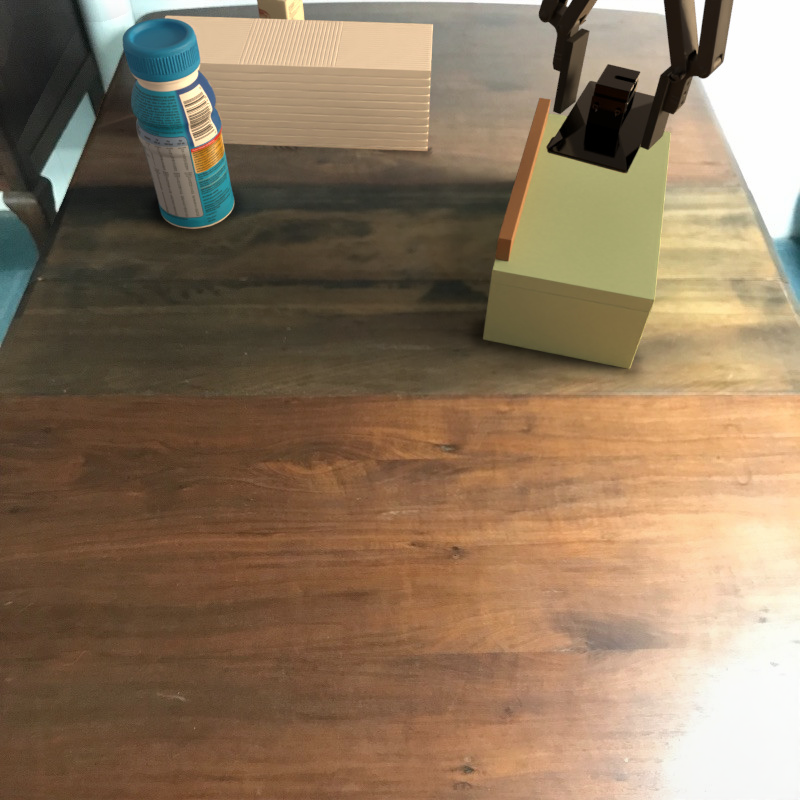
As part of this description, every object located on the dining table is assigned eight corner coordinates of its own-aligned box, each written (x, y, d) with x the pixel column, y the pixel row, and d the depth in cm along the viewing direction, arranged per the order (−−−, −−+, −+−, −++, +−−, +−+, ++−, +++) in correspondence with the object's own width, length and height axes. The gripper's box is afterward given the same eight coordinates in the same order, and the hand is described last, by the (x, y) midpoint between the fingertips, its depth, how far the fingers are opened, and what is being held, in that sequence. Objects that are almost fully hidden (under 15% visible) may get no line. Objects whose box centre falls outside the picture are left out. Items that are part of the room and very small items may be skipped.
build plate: (626, 175, 66) (640, 125, 62) (542, 153, 67) (551, 103, 64) (663, 101, 73) (677, 52, 69) (586, 82, 74) (596, 34, 71)
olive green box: (647, 206, 90) (677, 110, 81) (628, 373, 74) (662, 278, 65) (526, 185, 92) (541, 90, 83) (482, 343, 76) (495, 248, 67)
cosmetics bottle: (280, 52, 111) (272, -23, 103) (309, 58, 110) (303, -17, 102) (264, 70, 108) (254, -6, 100) (293, 76, 107) (286, 0, 99)
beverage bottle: (160, 238, 86) (110, 60, 70) (159, 191, 91) (111, 16, 75) (239, 228, 87) (206, 52, 71) (233, 182, 92) (201, 8, 76)
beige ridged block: (429, 106, 102) (432, 23, 94) (427, 155, 96) (430, 70, 87) (184, 98, 103) (165, 15, 95) (164, 145, 96) (143, 60, 88)
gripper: (516, -206, 54) (485, 100, 72) (816, -136, 46) (697, 189, 64) (572, -229, 58) (529, 67, 76) (859, -168, 50) (736, 147, 68)
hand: (606, 123), depth 70 cm, fingers closed on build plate, 8 cm apart
